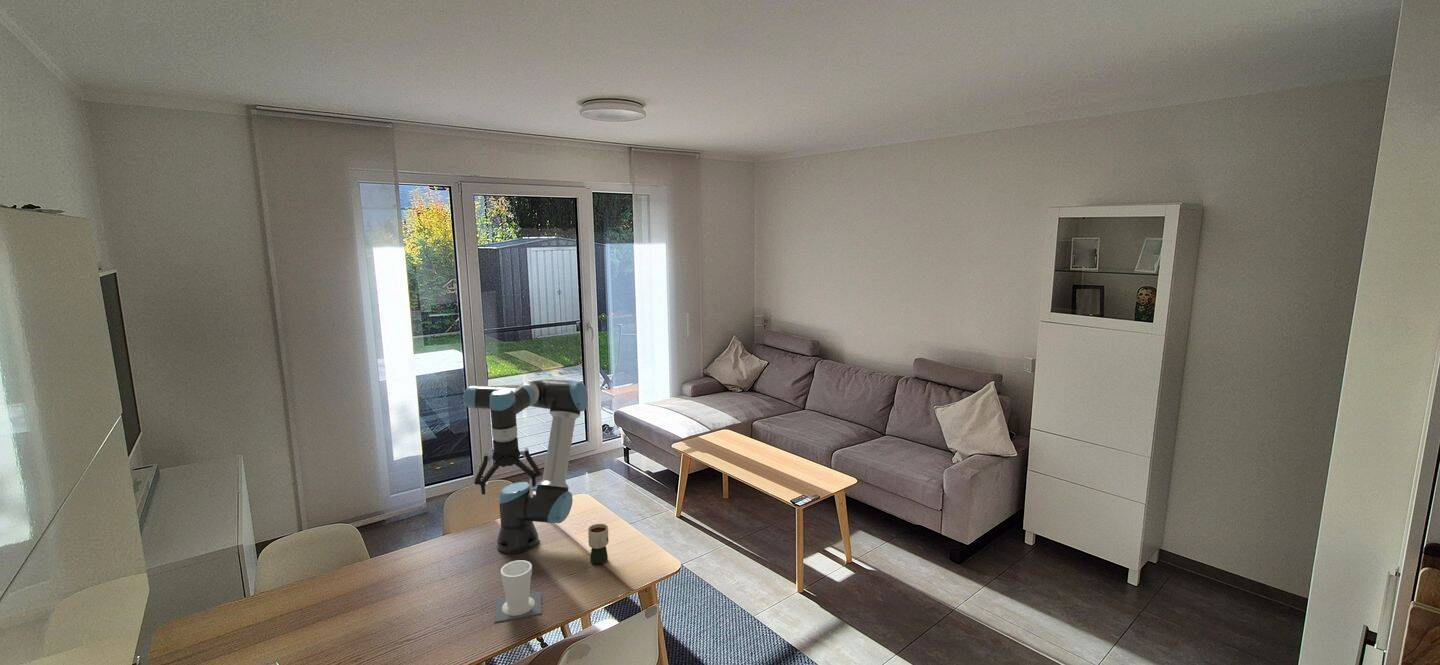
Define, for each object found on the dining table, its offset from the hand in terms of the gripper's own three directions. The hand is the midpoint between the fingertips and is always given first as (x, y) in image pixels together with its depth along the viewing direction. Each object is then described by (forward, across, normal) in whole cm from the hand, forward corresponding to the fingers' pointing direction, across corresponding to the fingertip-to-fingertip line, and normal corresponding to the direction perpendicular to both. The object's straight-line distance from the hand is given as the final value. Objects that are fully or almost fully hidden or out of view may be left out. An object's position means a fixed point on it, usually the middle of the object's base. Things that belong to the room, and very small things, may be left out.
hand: (509, 499), depth 198 cm
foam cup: (+32, 0, -12) cm, 34 cm away
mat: (+32, 0, -12) cm, 34 cm away
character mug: (+33, +29, +7) cm, 44 cm away
